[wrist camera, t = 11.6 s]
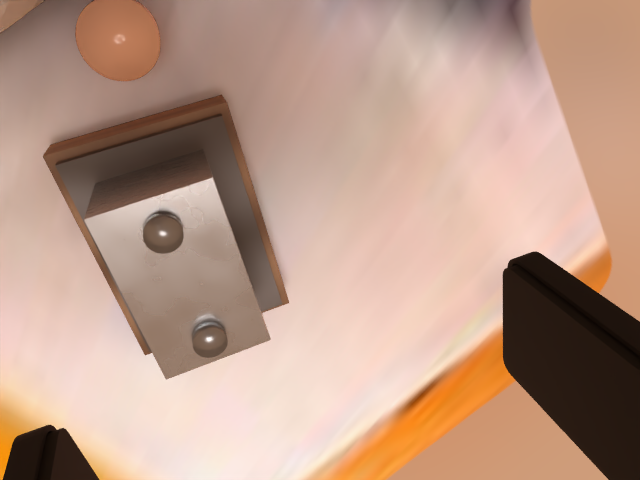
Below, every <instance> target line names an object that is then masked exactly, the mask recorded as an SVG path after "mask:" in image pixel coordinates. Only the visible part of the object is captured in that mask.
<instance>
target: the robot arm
mask: <svg viewBox="0 0 640 480" xmlns="http://www.w3.org/2000/svg"><path fill="white" fill-rule="evenodd" d="M503 360H504V364H505V366H506V368H507V370H508V372H509V373H510V374H511V375H512V376H513V378H514V379H515V380H516V381H517V382H518V383H519V384H520V385H521V386H522V387H523V388H524V389H525V390H526V391H527V392H528V394H529V395H530V396H531V397H532V398H533V399H534V400H535V401H536V402H537V403H538V404H539V405H540V406H541V407H542V408H543V410H544V411H545V412H546V413H547V414H548V415H549V416H550V417H551V418H552V419H553V420H554V421H555V423H556V424H557V425H558V426H559V427H560V428H561V429H562V430H563V431H564V432H565V433H566V434H567V435H568V436H569V438H570V439H571V440H572V441H573V442H574V443H575V444H576V445H577V446H578V447H579V448H580V449H581V450H582V451H583V453H584V454H585V455H586V456H587V457H588V458H589V459H590V460H591V461H592V462H593V463H594V464H595V465H596V467H597V468H598V469H599V470H600V471H601V472H602V473H603V474H604V475H605V476H606V477H607V478H608V479H609V480H640V322H639V321H638V320H636V319H635V318H633V317H632V316H631V315H629V314H628V313H626V312H625V311H623V310H622V309H620V308H619V307H618V306H616V305H615V304H613V303H612V302H610V301H609V300H607V299H606V298H605V297H603V296H602V295H600V294H599V293H597V292H596V291H594V290H593V289H591V288H590V287H589V286H587V285H586V284H584V283H583V282H581V281H580V280H578V279H577V278H576V277H574V276H573V275H571V274H570V273H568V272H567V271H565V270H564V269H563V268H561V267H560V266H558V265H557V264H555V263H554V262H552V261H551V260H549V259H548V258H547V257H545V256H544V255H542V254H541V253H539V252H531V253H528V254H525V255H523V256H520V257H517V258H514V259H512V260H510V261H509V263H508V268H506V269H504V271H503ZM3 480H99V479H98V477H97V476H96V474H95V472H94V471H93V469H92V468H91V466H90V465H89V463H88V462H87V460H86V459H85V457H84V456H83V454H82V453H81V451H80V450H79V448H78V447H77V445H76V443H75V442H74V440H73V439H72V437H71V436H70V434H69V433H68V431H67V430H66V429H64V428H62V429H59V430H56V428H55V427H54V426H52V425H47V426H44V427H41V428H38V429H36V430H33V431H30V432H27V433H24V434H22V435H19V436H17V437H16V438H15V439H14V442H13V444H12V448H11V452H10V455H9V459H8V463H7V466H6V470H5V474H4V477H3Z"/></svg>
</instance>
